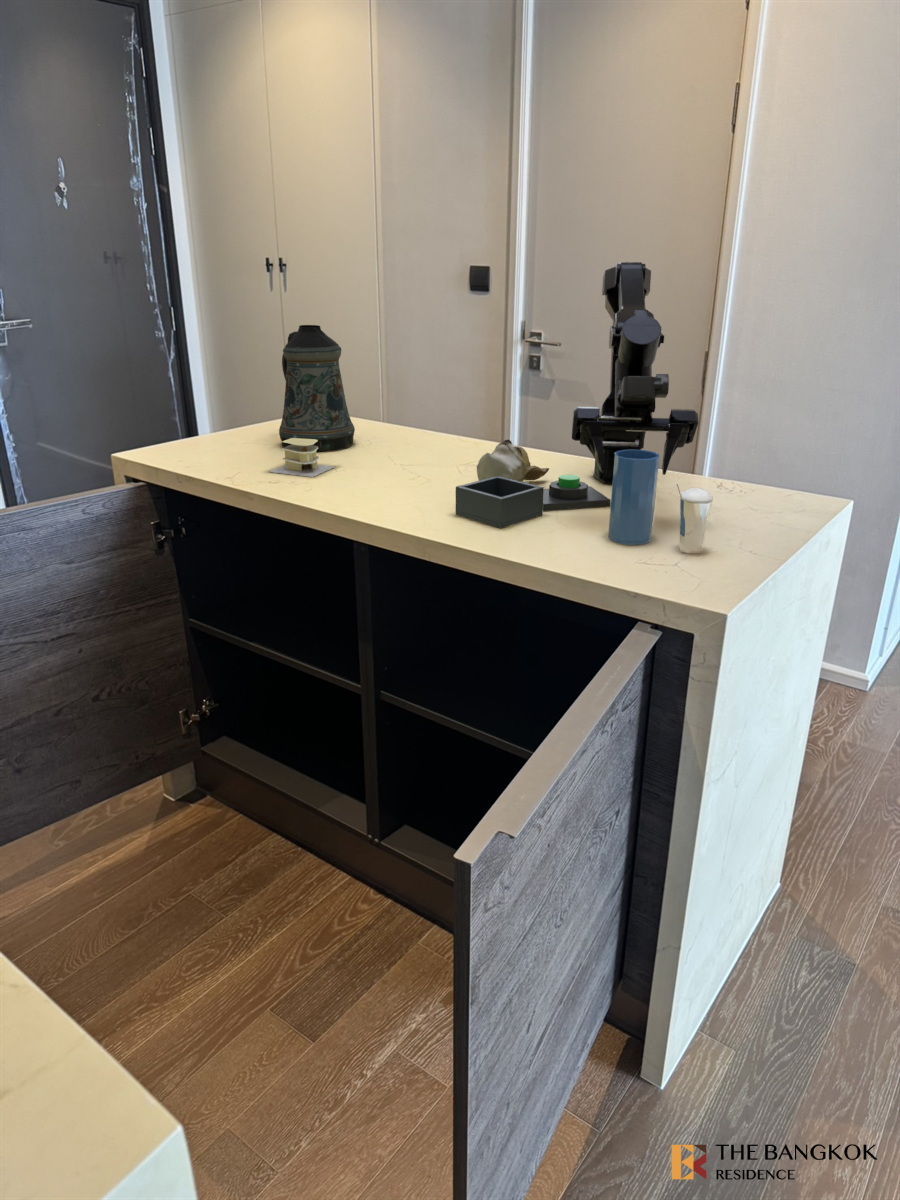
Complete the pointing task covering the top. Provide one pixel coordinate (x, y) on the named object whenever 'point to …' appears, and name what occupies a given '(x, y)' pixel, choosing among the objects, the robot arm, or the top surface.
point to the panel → (572, 497)
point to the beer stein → (314, 391)
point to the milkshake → (693, 518)
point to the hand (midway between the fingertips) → (633, 472)
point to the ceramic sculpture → (508, 464)
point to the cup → (633, 496)
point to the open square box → (499, 501)
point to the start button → (569, 481)
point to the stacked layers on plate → (301, 458)
